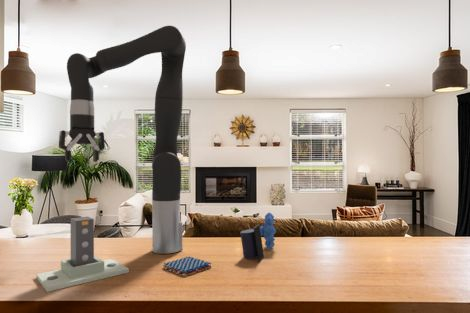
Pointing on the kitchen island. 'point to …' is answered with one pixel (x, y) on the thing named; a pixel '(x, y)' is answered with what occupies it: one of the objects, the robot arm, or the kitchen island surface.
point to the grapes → (268, 230)
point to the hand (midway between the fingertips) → (82, 161)
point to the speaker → (252, 243)
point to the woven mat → (187, 266)
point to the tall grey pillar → (82, 241)
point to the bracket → (80, 273)
